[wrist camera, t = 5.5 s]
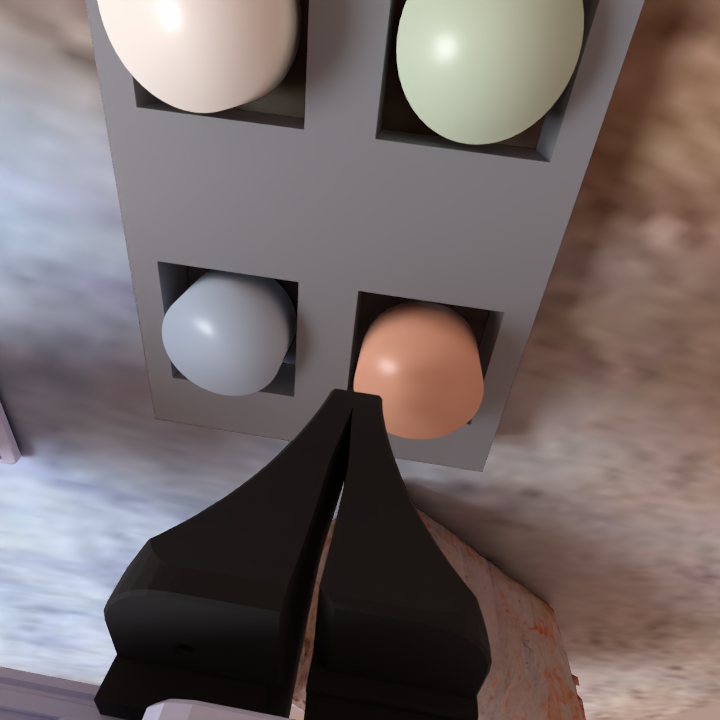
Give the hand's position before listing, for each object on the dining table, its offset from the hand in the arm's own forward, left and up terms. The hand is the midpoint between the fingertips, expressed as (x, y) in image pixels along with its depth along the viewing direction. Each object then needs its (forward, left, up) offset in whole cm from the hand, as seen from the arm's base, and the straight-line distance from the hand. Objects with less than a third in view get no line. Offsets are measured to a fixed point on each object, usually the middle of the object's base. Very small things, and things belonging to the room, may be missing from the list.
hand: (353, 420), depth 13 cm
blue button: (-5, 0, -5) cm, 7 cm away
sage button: (+2, +9, -5) cm, 10 cm away
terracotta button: (+2, 0, -4) cm, 5 cm away
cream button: (-5, +9, -4) cm, 11 cm away
